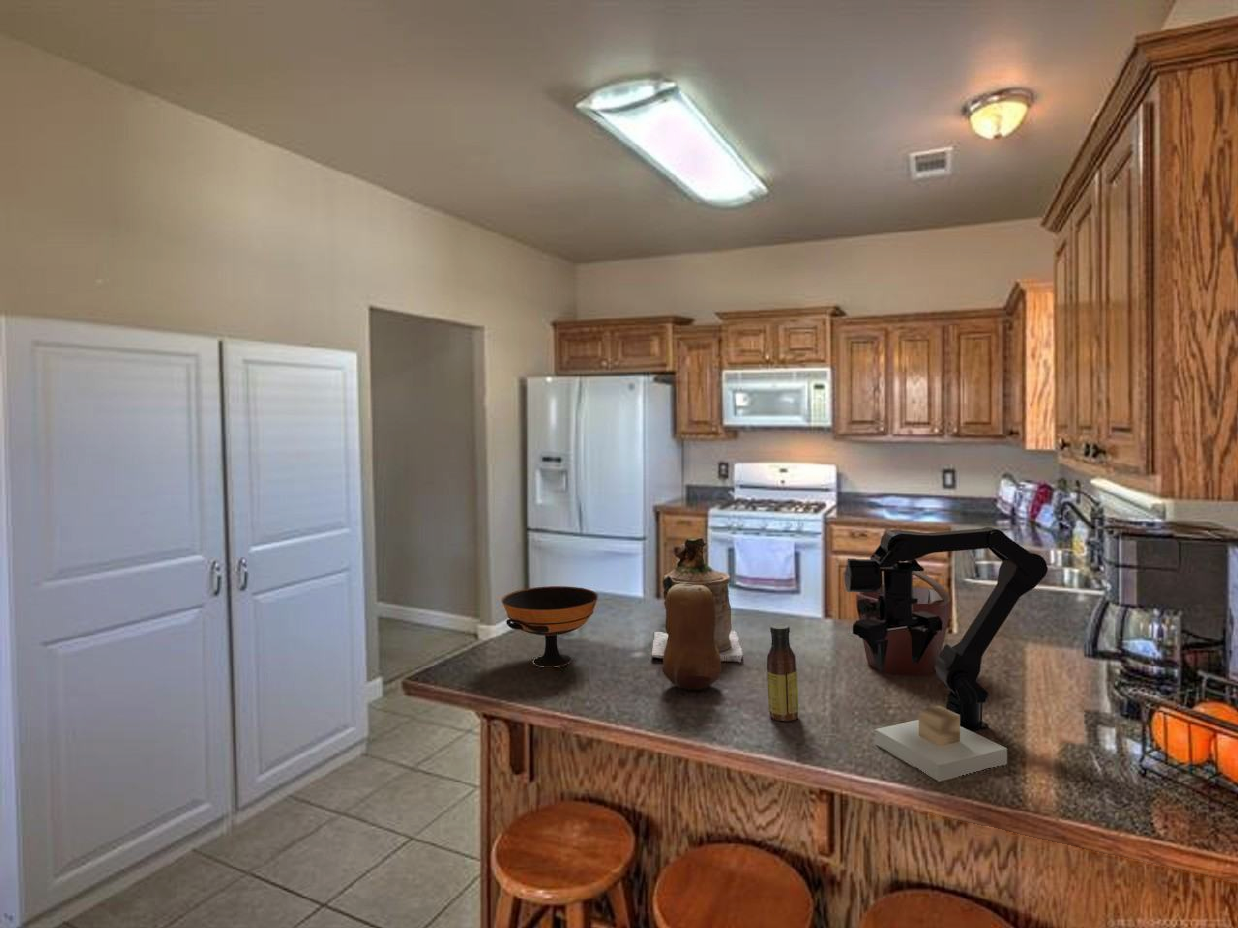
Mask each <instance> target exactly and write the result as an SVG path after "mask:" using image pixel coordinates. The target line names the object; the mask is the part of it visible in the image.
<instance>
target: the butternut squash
mask: <svg viewBox="0 0 1238 928" xmlns="http://www.w3.org/2000/svg"><path fill="white" fill-rule="evenodd" d="M664 621H665V626H664V627H665V631H666V632H665V633H667V634H668V641H667V644H666V647H665V650H664V656H663V659H662V661H663V662H662V664H663V666H662V673H663V675H664V676H665V677H666V678H667V680H669V681H670V683H671V684H672V685H674V686H676V687H678V688H681V689H686V690H687V689H688V690H690V691H694V692H696V691H704V689H705V690H706V688H707V687H709V686H711V685H712V684H713V683H715V681H717V679H718V678H719V677H720V675H721V673H722V661H721V658H720V654H719V652H718V649H717V646H716V644H715V641H714V630H715V608H714V600H713V595H712V593H711V591H710V590H709V589H708V588H707V587H705V586H703V585H690V584H683V583H682V584H676V585H674V586H672V587H671V588H670V589H669V591H668V593H667V596H666V609H665V620H664Z"/></svg>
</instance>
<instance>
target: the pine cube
mask: <svg viewBox="0 0 1238 928" xmlns="http://www.w3.org/2000/svg"><path fill="white" fill-rule="evenodd" d="M918 720H919V736H921V737H923V738H924V739H926V740H928V741H930V742H932V743H934V744H936V745H938V746H943V745H947V744H952V743H956V742H960V715H959V714H956V713H954V712H952V711H950V710H948V709H946V708H945V707H944V706H941V705H935V706H930V707H926V708H921V709H918Z"/></svg>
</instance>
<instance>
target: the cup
mask: <svg viewBox="0 0 1238 928" xmlns="http://www.w3.org/2000/svg"><path fill="white" fill-rule="evenodd" d="M598 599H599V595H598V593H596V592H595V591H593V590H591V589H587V588H584V587H577V586H567V585H566V586H563V585H562V586H561V585H560V586H554V585H553V586H537V587H536V586H535V587H530V588H525V589H519V590H515V591H512V592H510V593H508V594H506V595H504V596H503V597H502V598H501V603H502V606H503V607H504V610H505V612H506V616H507V617H508V619H507V620H506V625H507V627H509V628H511V629H512V630H518V631H519V630H521V631H523V632H526V633H528V634H531V635H536V636H544V640H545V645H544V653H543V654H542V655H543V656H542V657H538V656H537V657H538V658H537V659H535V660H534V663H535V665H538V666H544V667H555V666H562V665H565V664H568V663H569V662H570V663H571V662H572V658H571V657H570V656H569V655H567V654H562V653H561V654H560V651H559V646H558V636H561V635H565V634H568V633H571V632H573V631H576V630H578V629H579V628H581V627H583V625H585V624H586V623H587V622H588V621H589V619H590V617H591V616H592V615H593V614H594V609H595V607H596V603H597V602H598ZM570 663H569V664H570ZM569 664H568V665H569Z"/></svg>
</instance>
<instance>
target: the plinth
mask: <svg viewBox="0 0 1238 928" xmlns="http://www.w3.org/2000/svg"><path fill="white" fill-rule="evenodd" d="M874 744H875V745H876V746H877V747H879V748H881V749H882V750H884V751H886V752H888V753H889V754H890V755H893V756H894V757H896V758H898V759H899V760H902V761H903V762H905V763H907V764H908V765H910V766H911V767H913V768H915V767H916V768H918V769H919V770H918V769H917V770H918V771H920V770H921V771H922V773H923V772H924V773H923V774H925V773H926V774H925V775H927V776H928V777H930V778H932V779H933V780H935V781H937V782H938V783H940V782H944V781H948V780H952V779H955V778H960V777H963V776H962V775H964V776H967V775H966V774H968V775H970V774H969V773H972V774H974V773H973V772H976V771H980V770H983V769H986V768H990V767H995V768H998V767H997V766H999V767H1002V765H1003V766H1007V765H1008V748H1007V747H1004V746H1002V745H1001V744H999V743H997V742H994V741H993V740H990V739H989V738H986V737H984V736H982V735H980V734H977V733H976V732H974V731H970V730H968V729H966V728H963V727H961V726H960V742H956V743H952V744H947V745H943V746H938V745H936V744H934V743H932V742H930V741H928V740H926V739H924V738H923V737H921V736H919V719H916V720H912V721H907V722H902V723H898V724H893V725H887V726H883V727H878V728H875V729H874ZM1006 764H1007V765H1006ZM916 768H915V769H916ZM921 771H920V772H921ZM980 772H981V771H980ZM976 773H977V772H976ZM959 776H960V777H959Z"/></svg>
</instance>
